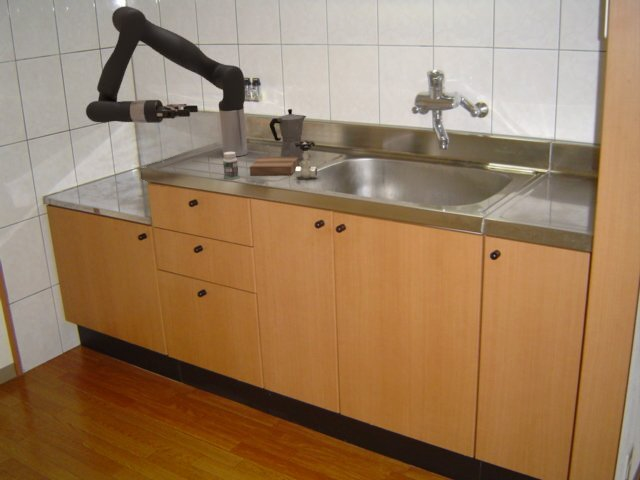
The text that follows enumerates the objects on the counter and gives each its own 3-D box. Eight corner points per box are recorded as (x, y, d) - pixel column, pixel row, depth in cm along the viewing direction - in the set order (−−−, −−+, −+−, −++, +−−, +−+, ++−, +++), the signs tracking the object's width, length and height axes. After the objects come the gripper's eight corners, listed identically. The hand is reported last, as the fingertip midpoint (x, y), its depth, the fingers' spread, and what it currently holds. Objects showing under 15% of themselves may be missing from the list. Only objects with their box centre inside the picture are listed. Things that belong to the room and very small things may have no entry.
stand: (260, 165, 260) (259, 157, 259) (298, 165, 258) (298, 156, 257) (250, 175, 247) (249, 167, 246) (291, 175, 245) (290, 166, 244)
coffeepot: (300, 153, 276) (298, 105, 270) (315, 157, 268) (312, 108, 262) (265, 160, 268) (262, 111, 262) (279, 164, 260) (275, 114, 254)
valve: (314, 181, 237) (312, 144, 233) (294, 181, 238) (292, 144, 234) (318, 176, 243) (316, 140, 239) (299, 176, 244) (297, 140, 240)
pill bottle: (221, 178, 246) (219, 153, 243) (232, 174, 250) (229, 150, 247) (231, 180, 243) (229, 155, 240) (241, 176, 247) (239, 152, 244)
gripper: (137, 103, 237) (186, 102, 235) (153, 96, 250) (199, 96, 248) (140, 126, 239) (188, 126, 237) (155, 118, 253) (200, 118, 250)
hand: (193, 110), depth 243 cm, fingers open, 8 cm apart
